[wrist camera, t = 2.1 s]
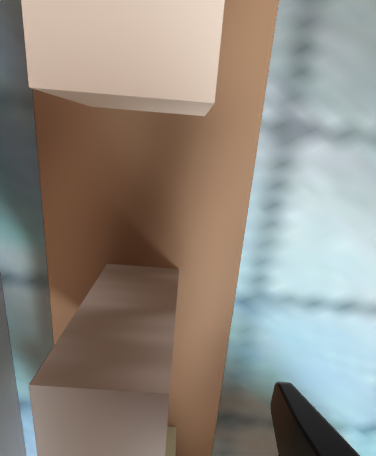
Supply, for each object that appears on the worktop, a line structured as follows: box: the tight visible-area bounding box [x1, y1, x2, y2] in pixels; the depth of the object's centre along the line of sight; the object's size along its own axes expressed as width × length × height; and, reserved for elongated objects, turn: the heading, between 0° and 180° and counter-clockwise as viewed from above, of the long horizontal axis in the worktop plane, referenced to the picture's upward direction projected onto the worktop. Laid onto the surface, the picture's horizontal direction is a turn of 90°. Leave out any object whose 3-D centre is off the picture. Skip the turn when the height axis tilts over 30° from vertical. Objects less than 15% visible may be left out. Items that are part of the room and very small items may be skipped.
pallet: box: [29, 0, 279, 456], centre depth 11 cm, size 8×25×9 cm, turn 176°
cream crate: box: [21, 0, 225, 116], centre depth 7 cm, size 4×4×4 cm
